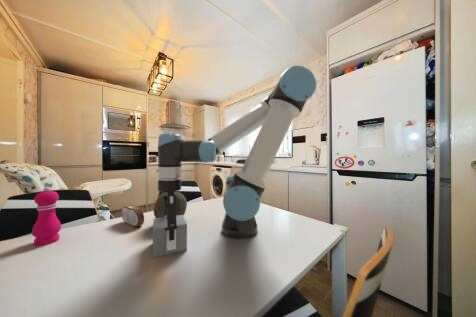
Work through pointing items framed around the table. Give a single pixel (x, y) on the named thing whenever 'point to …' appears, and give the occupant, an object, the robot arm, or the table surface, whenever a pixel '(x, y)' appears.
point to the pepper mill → (46, 218)
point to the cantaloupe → (160, 206)
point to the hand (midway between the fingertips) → (169, 240)
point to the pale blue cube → (161, 236)
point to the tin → (132, 215)
